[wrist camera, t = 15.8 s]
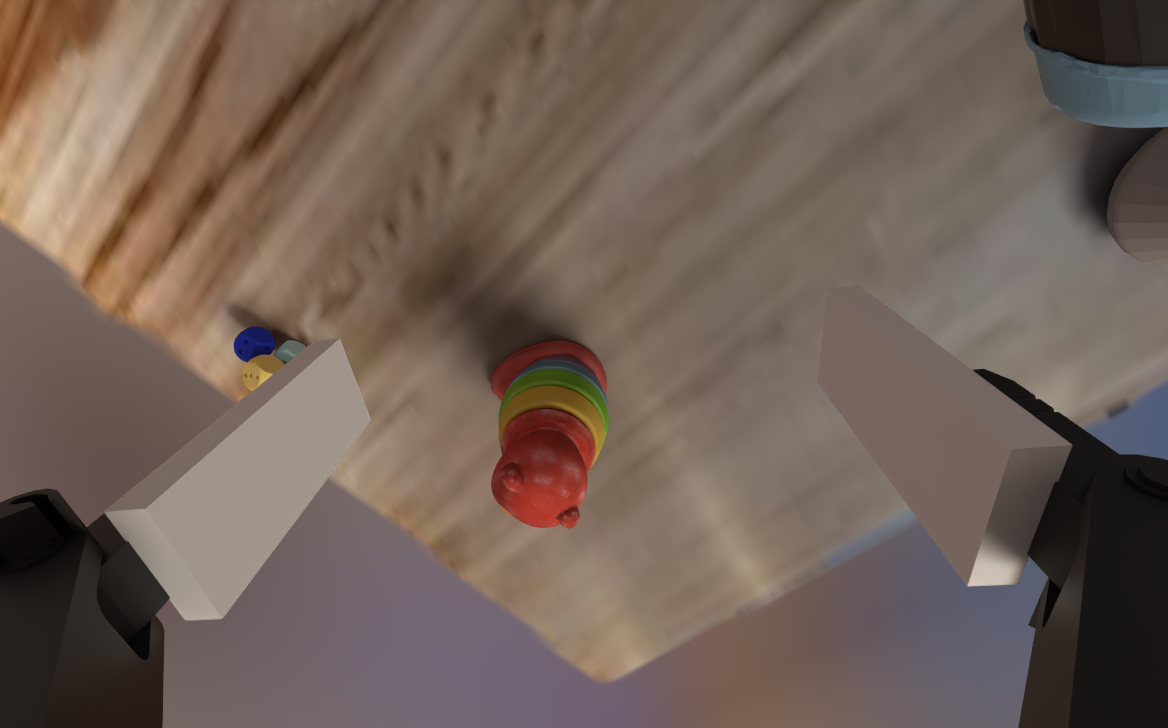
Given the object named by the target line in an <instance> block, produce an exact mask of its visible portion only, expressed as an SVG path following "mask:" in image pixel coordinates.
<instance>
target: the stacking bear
mask: <svg viewBox="0 0 1168 728" xmlns="http://www.w3.org/2000/svg"><path fill="white" fill-rule="evenodd" d="M491 383H492V391H493V393H494V394H495V395H497V396H498V397H499V399H500V400H502V403H501V407H500V412H499V441H500V447H501V451H502V457H501V458H500V460H499V462H498V463H497V465H496V468H495V470H494V472H493V476H492V481H491V487H492V493H493V495H494V498H495V500H496V501H497V502H498V504H499V505H500V506H501V507H502V509H503V510H504V511H505V512H507V513H508V514H510V515H511V516H513V517H515V518H516V519H518V520H519V521H521V522H523V523H525V524H527V525H530V526H533V527H538V528H549V527H554V526H557V525H559V524H561V525H563V526H564V527H567V528H573V527H574V526H575V525H576V524H577V523H578V521H579V516H580V514H579V511H578V508H579V507H580V505H581V504H582V502H583V500H584V497H585V494H586V490H587V472H588V470H589V469H590V467H591V466H592V465H593V464H594V462H595V460H596V459H597V457H598V455H599V453H600V450H601V448H602V446H603V443H604V441H605V438H606V434H607V430H608V425H609V410H608V404H607V400H606V396H605V393H606V387H607V380H606V375H605V371H604V369H603V366H602V365H601V363H600V361H599V360H598V359H597V358H596V356H595V355H594V354H592V353H591V352H590V351H589V350H587V349H586V348H584V347H582V346H580V345H578V344H576V343H572V342H568V341H549V342H543V343H538V344H535V345H531V346H529V347H526V348H524V349H521V350H519V351H517V352H515V353H514V354H512V355H511V356H509V357H508V358H506V359H505V360H504V361H503V362H502V363H501V364H500V365H499V366H498V367H497V368H496V369H495V370H494V371H493V373H492V376H491Z"/></svg>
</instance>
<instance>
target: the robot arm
mask: <svg viewBox="0 0 1168 728" xmlns="http://www.w3.org/2000/svg"><path fill="white" fill-rule="evenodd" d="M1024 6H1025V12H1026V18H1027V21H1026V23H1025V25H1024V35H1025V40H1026V42H1027V44H1028V46H1029V47H1030V48H1031V49H1032V51H1033V52H1034V53H1035V56H1036V60H1037V65H1038V69H1039V73H1040V77H1041V81H1042V85H1043V90H1044V92H1045V95H1046V97H1047V98H1048V100H1049V102H1050V103H1051V104H1052V105H1053V106H1054V107H1055V108H1057V109H1059V110H1061V111H1063V112H1064V113H1066V114H1068V115H1069V116H1070V117H1071V118H1073V119H1075V120H1078V121H1081V122H1085V123H1090V124H1095V125H1100V126H1109V127H1122V128H1151V127H1168V0H1024ZM818 384H819V385H820V386H821V388H822V389H823V390H824V392H825V393H826V394H827V396H828V397H829V399H830V400H831V401H832V403H833V404H834V405H835V407H836V408H837V409H838V411H839V412H840V413H841V415H842V416H843V418H844V419H845V420H846V422H847V423H848V424H849V426H850V427H851V428H852V430H853V431H854V433H855V434H856V435H857V437H858V438H859V439H860V441H861V442H862V443H863V445H864V446H865V448H866V449H867V450H868V452H869V453H870V454H871V456H872V457H873V458H874V460H875V461H876V463H877V464H878V465H879V467H880V468H881V469H882V471H883V472H884V473H885V475H886V476H887V477H888V479H889V480H890V482H891V483H892V484H893V486H894V487H895V488H896V490H897V491H898V492H899V494H900V495H901V497H902V498H903V499H904V501H905V502H906V503H907V505H908V506H909V507H910V509H911V510H912V512H913V513H914V514H915V516H916V517H917V518H918V520H919V521H920V522H921V524H922V525H923V526H924V528H925V529H926V530H927V532H928V533H929V535H930V536H931V537H932V539H933V540H934V541H935V543H936V544H937V546H938V547H939V548H940V550H941V551H942V552H943V554H944V555H945V556H946V558H947V559H948V561H949V562H950V563H951V564H952V566H953V567H954V569H955V570H956V571H957V573H958V574H959V575H960V577H961V578H962V580H963V581H964V582H965V584H966V585H967V586H985V585H1006V584H1019V581H1020V579H1021V576H1022V573H1023V571H1024V568H1025V566H1026V563H1027V561H1028V558H1029V556H1030V558H1031V559H1032V560H1033V561H1034V562H1035V563H1036V564H1037V565H1038V566H1039V567H1040V568H1041V570H1042V571H1043V572H1044V573H1045V574H1046V575H1047V576H1048V580H1047V582H1046V585H1045V587H1044V589H1043V592H1042V594H1041V596H1040V599H1039V601H1038V603H1037V606H1036V608H1035V610H1034V613H1033V615H1032V617H1031V620H1030V622H1029V626H1031V627H1034V628H1036V631H1035V635H1034V642H1033V647H1032V653H1031V658H1030V664H1029V670H1028V675H1027V681H1026V687H1025V693H1024V698H1023V704H1022V710H1021V715H1020V721H1019V727H1018V728H1168V460H1165V459H1161V458H1155V457H1149V456H1143V455H1137V454H1136V455H1135V454H1134V455H1120V454H1118V453H1116V452H1115V451H1114V450H1112V449H1111V448H1109V447H1108V446H1107V445H1105V444H1104V443H1102V442H1101V441H1099V440H1098V439H1097V438H1095V437H1093V436H1092V435H1091V434H1089V433H1088V432H1086V431H1085V430H1084V429H1082V428H1081V427H1079V426H1078V425H1076V424H1075V423H1074V422H1072V421H1071V420H1069V419H1068V418H1066V417H1065V416H1063V415H1062V414H1061V413H1059V412H1054V409H1053V408H1052V407H1051V406H1049V405H1048V404H1046V403H1045V402H1043V401H1042V400H1040V399H1036V398H1035V395H1033V394H1032V393H1030V392H1029V391H1028V390H1026V389H1025V388H1023V387H1022V386H1020V385H1019V384H1017V383H1016V382H1015V381H1013V380H1010V379H1008V378H1005V377H1003V376H1000V375H998V374H995V373H993V372H990V371H988V370H985V369H977V370H971V369H970V368H969V367H967V366H966V365H965V364H963V363H962V362H961V361H959V360H958V359H957V358H955V357H954V356H952V355H951V354H950V353H948V352H947V351H946V350H944V349H943V348H942V347H940V346H939V345H938V344H936V343H935V342H934V341H932V340H931V339H930V338H928V337H927V336H926V335H924V334H923V333H922V332H920V331H919V330H918V329H916V328H915V327H914V326H912V325H911V324H910V323H908V322H907V321H906V320H904V319H903V318H902V317H900V316H899V315H897V314H896V313H895V312H893V311H892V310H891V309H889V308H888V307H887V306H885V305H884V304H883V303H881V302H880V301H879V300H877V299H876V298H875V297H873V296H872V295H871V294H869V293H868V292H867V291H865V290H864V289H863V288H861V287H860V286H849V287H839V288H830V289H827V295H826V305H825V315H824V325H823V336H822V346H821V356H820V366H819V377H818ZM370 421H371V419H370V416H369V413H368V411H367V408H366V406H365V403H364V400H363V398H362V395H361V393H360V390H359V387H358V385H357V382H356V380H355V377H354V374H353V372H352V369H351V367H350V364H349V361H348V359H347V356H346V354H345V351H344V348H343V346H342V343H341V341H340V339H330V340H320V341H314V342H312V343H311V344H310V345H309V346H307V347H306V348H305V349H304V350H303V351H301V352H300V353H299V354H298V355H296V356H295V357H294V358H293V359H291V360H290V361H289V362H288V363H286V364H285V365H284V366H283V367H282V368H280V369H279V370H278V371H277V372H275V373H274V374H273V375H272V376H270V377H269V378H268V379H267V380H265V381H264V382H263V383H262V384H261V385H259V386H258V387H257V388H256V389H254V390H253V391H252V392H251V393H249V394H248V395H247V396H246V397H245V398H243V399H242V400H241V401H240V402H238V403H237V404H236V405H235V406H233V407H232V408H231V409H230V410H228V411H227V412H226V413H225V414H224V415H222V416H221V417H220V418H219V419H217V420H216V421H215V422H214V423H213V424H211V425H210V426H209V427H207V428H206V429H205V430H204V431H203V432H201V433H200V434H199V435H198V436H196V437H195V438H194V439H193V440H191V441H190V442H189V443H188V444H187V445H185V446H184V447H183V448H182V449H181V450H179V451H178V452H177V453H175V454H174V455H173V456H172V457H171V458H169V459H168V460H167V461H165V462H164V463H163V464H162V465H161V466H159V467H158V468H157V469H156V470H154V471H153V472H152V473H151V474H150V475H148V476H147V477H146V478H145V479H143V480H142V481H141V482H140V483H138V484H137V485H136V486H135V487H133V488H132V489H131V490H130V491H128V492H127V493H126V494H125V495H124V496H122V497H121V498H120V499H119V500H117V501H116V502H115V503H114V504H112V505H111V506H110V507H109V508H107V509H106V510H105V511H104V514H103V515H101V516H100V517H99V518H98V519H97V520H95V521H94V522H93V523H92V524H91V525H89V526H88V527H87V528H86V526H85V525H84V524H83V523H82V521H81V520H80V519H79V518H78V516H77V515H76V514H75V513H74V511H73V510H72V509H71V507H70V506H69V505H68V503H67V502H66V501H65V500H64V499H63V497H62V496H61V495H60V493H59V492H58V491H57V490H53V489H43V490H35V491H31V492H28V493H25V494H22V495H18V496H15V497H13V498H10V499H8V500H6V501H3V502H1V503H0V728H162V723H163V721H162V720H163V671H164V628H163V625H162V623H161V622H160V620H159V619H158V618H157V617H156V615H155V614H156V613H157V612H158V611H159V610H160V609H161V608H162V606H163V605H164V604H165V603H166V602H167V601H168V599H170V601H171V602H172V603H173V605H174V606H175V607H176V609H177V610H178V611H179V613H180V614H181V615H182V617H183V618H184V619H185V620H204V619H205V620H207V619H223V617H224V616H225V615H226V613H227V612H228V610H229V609H230V608H231V607H232V605H233V604H234V603H235V601H236V600H237V599H238V597H239V596H240V594H241V593H242V592H243V590H244V589H245V588H246V587H247V585H248V584H249V582H250V581H251V580H252V579H253V577H254V576H255V575H256V573H257V572H258V571H259V569H260V568H261V567H262V565H263V564H264V563H265V561H266V560H267V559H268V557H269V556H270V555H271V553H272V552H273V551H274V549H275V548H276V547H277V545H278V544H279V543H280V541H281V540H282V539H283V537H284V536H285V535H286V533H287V532H288V531H289V529H290V528H291V527H292V525H293V524H294V523H295V521H296V520H297V519H298V517H299V516H300V515H301V513H302V512H303V511H304V509H305V508H306V507H307V505H308V504H309V503H310V501H311V500H312V499H313V497H314V496H315V495H316V493H317V492H318V491H319V489H320V488H321V487H322V485H323V484H324V483H325V481H326V480H327V479H328V477H329V476H330V475H331V473H332V472H333V471H334V469H335V468H336V467H337V465H338V464H339V463H340V461H341V460H342V459H343V457H344V456H345V455H346V453H347V452H348V451H349V449H350V448H351V447H352V445H353V444H354V443H355V441H356V440H357V439H358V437H359V436H360V435H361V433H362V432H363V431H364V429H365V428H366V427H367V425H368V424H369V423H370Z"/></svg>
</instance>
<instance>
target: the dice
mask: <svg viewBox="0 0 1168 728" xmlns="http://www.w3.org/2000/svg"><path fill="white" fill-rule="evenodd" d="M274 346H275V341H274V337H273V335H272V334H271V333H270V332H269V331H268V330H266V329H264V328H261V327H250V328H247V329H245V330H244V331H242V332H241V333H240V334H239V335H238V336H237V337H236V339H235V341H234V351H235V353H236V355H237V356H238V357H239V358H240V359H241V360H243V361H245V362H247V363H246V364H245V366H244V367H243V370H242V379H243V382H244V384H245V386H246V387H247V388H248V389H250V390H251V391H253V390H254V389H256V388H257V387H258V386H259V385H261V384H262V383H263V382H264V381H265V380H267V379H268V378H269V377H270V376H272V375H273V374H274V373H275V372H277V371H278V370H279V369H280V368H282V367H283V366H284V365H285V364H286V363H288V362H289V361H290V360H291V359H293V358H294V357H295V356H296V355H298V354H299V353H300V352H301V351H303V350H304V349H305V348H306V346H305V345H304V344H302V343H300V342H298V341H294V340H288V341H286V342H284V343H283V344H282V345H281V346H280V347H279V348H278V350H277V351H276V352H275V354H274V355H273V356H271V355H270V354H271V353H272V351H273V350H274Z"/></svg>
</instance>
